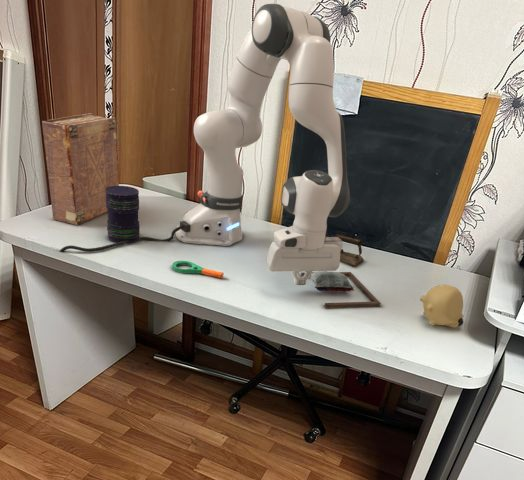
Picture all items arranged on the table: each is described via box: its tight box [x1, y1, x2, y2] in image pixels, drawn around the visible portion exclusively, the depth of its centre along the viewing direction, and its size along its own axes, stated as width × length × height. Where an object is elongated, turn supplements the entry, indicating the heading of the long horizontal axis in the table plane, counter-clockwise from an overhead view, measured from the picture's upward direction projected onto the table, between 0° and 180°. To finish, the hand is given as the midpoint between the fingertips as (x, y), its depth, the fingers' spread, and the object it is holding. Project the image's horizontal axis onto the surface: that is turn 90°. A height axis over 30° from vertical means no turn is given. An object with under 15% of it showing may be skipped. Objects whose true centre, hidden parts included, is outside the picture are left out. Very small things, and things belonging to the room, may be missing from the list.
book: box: [41, 112, 120, 226], centre depth 165 cm, size 25×9×30 cm, turn 162°
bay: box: [300, 271, 382, 309], centre depth 142 cm, size 16×20×1 cm
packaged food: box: [309, 271, 355, 293], centre depth 141 cm, size 9×12×5 cm
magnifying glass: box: [171, 260, 224, 279], centre depth 141 cm, size 15×6×2 cm, turn 71°
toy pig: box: [419, 284, 464, 328], centre depth 130 cm, size 10×12×11 cm
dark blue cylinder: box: [105, 185, 141, 245], centre depth 153 cm, size 10×10×15 cm
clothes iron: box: [334, 233, 365, 268], centre depth 161 cm, size 7×11×10 cm, turn 57°
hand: (299, 284), depth 138 cm, fingers closed
